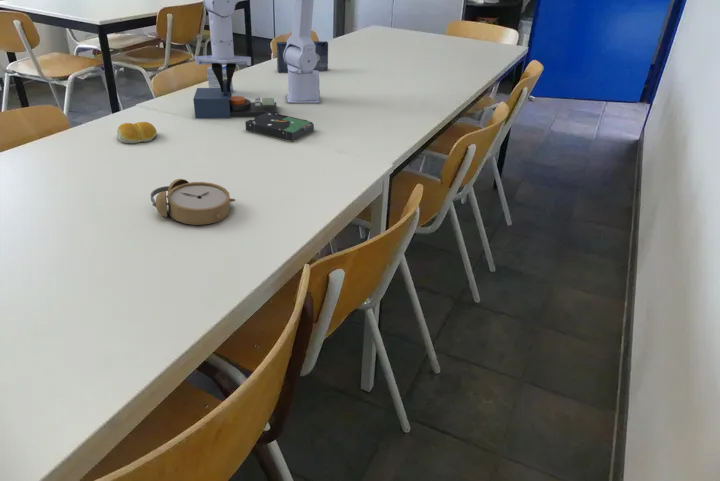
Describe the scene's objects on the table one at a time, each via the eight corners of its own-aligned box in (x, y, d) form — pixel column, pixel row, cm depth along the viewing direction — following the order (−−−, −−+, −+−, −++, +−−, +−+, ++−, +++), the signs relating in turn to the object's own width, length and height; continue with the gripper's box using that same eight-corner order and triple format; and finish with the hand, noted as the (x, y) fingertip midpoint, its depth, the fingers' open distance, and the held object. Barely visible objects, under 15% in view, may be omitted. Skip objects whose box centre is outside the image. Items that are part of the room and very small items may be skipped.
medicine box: (223, 98, 166) (220, 69, 161) (209, 96, 166) (206, 67, 162) (233, 91, 172) (231, 63, 168) (220, 89, 173) (217, 61, 168)
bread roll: (161, 140, 134) (158, 124, 132) (122, 146, 130) (119, 130, 127) (151, 129, 140) (149, 114, 138) (114, 135, 135) (111, 119, 133)
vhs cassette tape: (326, 69, 202) (326, 40, 197) (328, 71, 199) (328, 42, 194) (276, 70, 196) (276, 41, 191) (278, 72, 194) (277, 43, 189)
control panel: (276, 107, 160) (276, 97, 159) (277, 117, 153) (276, 106, 151) (224, 107, 158) (223, 97, 157) (222, 117, 150) (221, 106, 149)
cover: (232, 106, 159) (229, 76, 155) (230, 118, 150) (228, 86, 146) (199, 106, 158) (195, 76, 153) (195, 118, 149) (191, 86, 144)
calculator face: (274, 97, 158) (273, 96, 158) (274, 106, 152) (274, 105, 151) (255, 97, 158) (255, 96, 157) (255, 106, 151) (255, 105, 151)
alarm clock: (216, 215, 97) (137, 191, 97) (214, 238, 99) (137, 215, 100) (240, 189, 106) (167, 167, 107) (237, 210, 109) (166, 189, 110)
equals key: (245, 100, 156) (245, 95, 155) (245, 105, 152) (244, 100, 151) (228, 100, 155) (228, 95, 154) (228, 105, 151) (227, 100, 151)
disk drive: (245, 132, 142) (293, 142, 136) (244, 121, 140) (293, 132, 135) (267, 121, 150) (314, 130, 145) (267, 111, 148) (314, 120, 143)
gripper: (191, 42, 140) (197, 95, 147) (249, 43, 142) (252, 95, 149) (194, 37, 146) (199, 88, 153) (250, 38, 148) (252, 88, 155)
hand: (225, 91), depth 151 cm, fingers closed on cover
